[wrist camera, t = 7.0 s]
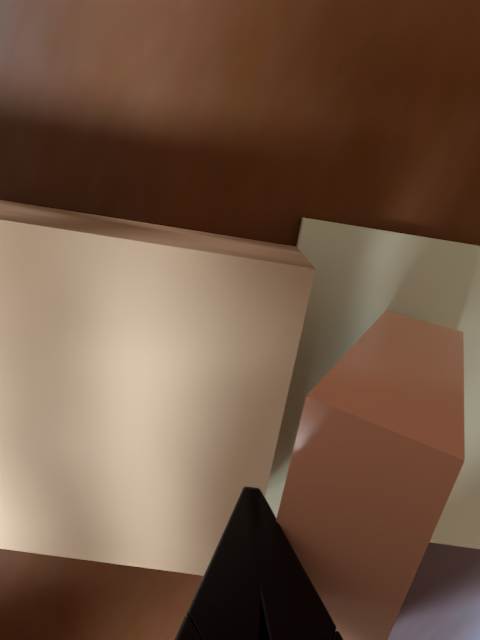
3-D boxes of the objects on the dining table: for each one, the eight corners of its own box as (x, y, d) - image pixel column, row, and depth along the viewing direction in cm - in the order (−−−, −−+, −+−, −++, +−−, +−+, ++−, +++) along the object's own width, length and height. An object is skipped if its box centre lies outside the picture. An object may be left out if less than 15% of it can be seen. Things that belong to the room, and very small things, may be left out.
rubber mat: (243, 509, 17) (243, 516, 16) (302, 217, 13) (303, 218, 12) (520, 547, 17) (525, 555, 17) (667, 275, 13) (679, 278, 13)
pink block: (237, 676, 9) (335, 758, 8) (307, 396, 7) (465, 460, 5) (332, 486, 16) (393, 517, 15) (385, 310, 13) (463, 331, 12)
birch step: (-70, 447, 16) (-167, 526, 12) (-110, 182, 13) (-264, 178, 9) (247, 492, 17) (246, 581, 13) (296, 246, 13) (316, 269, 9)
